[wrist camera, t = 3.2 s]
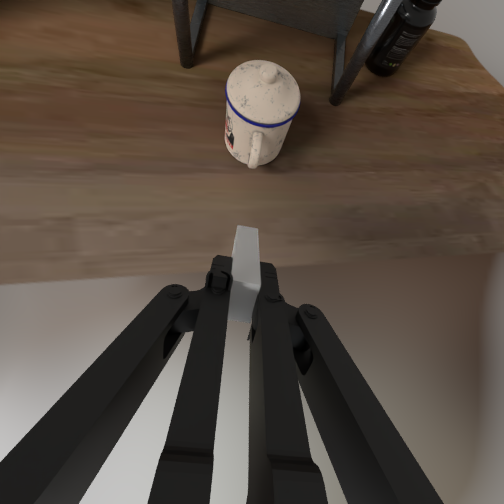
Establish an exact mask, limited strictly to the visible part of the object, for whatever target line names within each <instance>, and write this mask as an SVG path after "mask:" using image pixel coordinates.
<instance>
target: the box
mask: <svg viewBox="0 0 504 504" xmlns="http://www.w3.org/2000/svg"><path fill="white" fill-rule="evenodd" d="M363 1H364V0H197V3H196V6H195V10H194V13H193V17H192V20H191V24H190V20H189V9H188V0H172V6H173V13H174V20H175V28H176V35H177V42H178V49H179V56H180V63H181V66H182V67H184V68H191V67H192V66H193V58H194V54H195V50H196V47H197V43H198V39H199V35H200V32H201V28H202V24H203V20H204V17H205V13H206V9H207V6H208V4H212V5H215V6H219V7H222V8H226V9H230V10H233V11H237V12H240V13H244V14H247V15H251V16H254V17H258V18H261V19H265V20H268V21H272V22H275V23H279V24H283V25H286V26H290V27H293V28H297V29H300V30H304V31H307V32H311V33H314V34H318V35H321V36H325V37H328V38H332V39H335V47H334V61H333V74H332V88H331V96H330V98H329V101H330V103H331V104H332V105H334V106H338V105H339V104H340V103H341V101H342V99H343V98H344V96H345V94H346V93H347V91H348V89H349V88H350V86H351V84H352V83H353V81H354V80H355V78H356V76H357V75H358V73H359V71H360V70H361V68H362V66H363V65H364V63H365V61H366V60H367V58H368V56H369V55H370V53H371V51H372V50H373V48H374V46H375V45H376V43H377V41H378V40H379V38H380V36H381V35H382V33H383V31H384V30H385V28H386V26H387V25H388V23H389V21H390V20H391V18H392V16H393V15H394V13H395V11H396V10H397V8H398V6H399V5H400V3H401V2H402V0H382V2H381V4H380V5H379V7H378V9H377V11H376V13H375V15H374V17H373V18H372V20H371V22H370V24H369V26H368V28H367V30H366V31H365V33H364V35H363V37H362V39H361V41H360V43H359V44H358V46H357V48H356V50H355V52H354V54H353V56H352V57H351V59H350V61H349V63H348V65H347V67H346V69H345V70H344V72H343V69H344V52H345V39H346V37H347V35H348V32H349V30H350V28H351V26H352V24H353V22H354V20H355V18H356V16H357V14H358V12H359V10H360V7H361V5H362V3H363Z"/></svg>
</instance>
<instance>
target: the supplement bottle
mask: <svg viewBox="0 0 504 504" xmlns="http://www.w3.org/2000/svg"><path fill="white" fill-rule="evenodd" d="M441 1H442V0H402V2H401V3H400V5H399V6H398V8H397V10H396V11H395V13H394V15H393V16H392V18H391V20H390V21H389V23H388V25H387V26H386V28H385V30H384V31H383V33H382V35H381V36H380V38H379V40H378V41H377V43H376V45H375V46H374V48H373V50H372V51H371V53H370V55H369V56H368V58H367V60H366V61H365V65H366V66H367V68H368V69H369V70H370V71H371V72H372V73H374V74H376V75H378V76H382V77H387V76H390V75H392V74H394V73H395V72H396V71H397V70H398V69H399V67H400V66H401V65H402V63H403V62H404V61H405V59H406V58H407V57H408V55H409V54H410V53H411V51H412V50H413V49H414V48H415V46H416V45H417V44H418V42H419V41H420V40H421V38H422V37H423V36H424V34H425V33H426V32H427V30H428V29H429V28H430V26H431V25H432V23H433V22H434V20H435V17H436V12H437V9H436V6H438V5H439V4H440V2H441Z"/></svg>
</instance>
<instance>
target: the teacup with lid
mask: <svg viewBox="0 0 504 504" xmlns="http://www.w3.org/2000/svg"><path fill="white" fill-rule="evenodd" d="M225 93H226V98H227V108H226V126H225V143H226V146H227V148H228V150H229V152H230V153H231V154H232V155H233V156H234V157H235V158H236V159H237V160H239V161H240V162H242V163H245V164H248V167H249V168H252V169H255V168H257V166H258V165H264V164H267V163H269V162H271V161H272V160H273V159H275V158H276V156H277V155H278V153H279V152H280V149H281V147H282V144H283V142H284V139H285V137H286V134H287V132H288V129H289V127H290V124H291V122H292V119H293V118H294V117H295V115H296V114H297V112H298V110H299V107H300V91H299V87H298V85H297V82H296V81H295V79H294V78H293V76H292V75H291V74H290V73H289V72H288V71H287V70H285V69H284V68H283V67H281V66H279V65H277V64H275V63H272V62H269V61H263V60H253V61H248V62H245V63H243V64H241V65H239V66H238V67H237V68H235V69H234V70H233V72H232V73H231V74H230V76H229V78H228V80H227V83H226V89H225Z"/></svg>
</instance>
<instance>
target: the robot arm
mask: <svg viewBox="0 0 504 504" xmlns="http://www.w3.org/2000/svg"><path fill="white" fill-rule="evenodd" d="M251 318H252V325H251V328H250V332H249V335H248V339H247V340H249V339H250V371H249V373H250V374H249V378H250V380H249V472H248V496H247V502H246V504H328V501H327V497H326V491H325V485H324V481H323V477H322V474H321V471H320V469H319V467H318V466H317V465H316V464H315V463H314V462H313V460H312V458H311V454H310V448H309V442H308V436H307V430H306V424H305V418H304V413H303V407H302V401H301V395H300V390H299V383H300V386H301V388H302V391H303V393H304V396H305V398H306V401H307V403H308V406H309V408H310V410H311V413H312V415H313V418H314V421H315V423H316V426H317V428H318V431H319V433H320V435H321V438H322V441H323V443H324V445H325V448H326V451H327V453H328V456H329V458H330V460H331V463H332V465H333V468H334V470H335V473H336V475H337V478H338V480H339V483H340V485H341V488H342V490H343V493H344V495H345V498H346V500H347V502H348V504H444V503H443V502H442V500H441V499H440V497H439V496H438V494H437V492H436V491H435V489H434V488H433V486H432V484H431V483H430V481H429V480H428V478H427V477H426V475H425V474H424V472H423V470H422V469H421V467H420V466H419V464H418V462H417V461H416V459H415V458H414V456H413V455H412V453H411V451H410V450H409V448H408V447H407V445H406V443H405V442H404V441H403V439H402V437H401V436H400V434H399V432H398V431H397V430H396V428H395V426H394V425H393V423H392V421H391V420H390V418H389V417H388V415H387V414H386V412H385V410H384V409H383V407H382V406H381V404H380V403H379V401H378V400H377V398H376V396H375V395H374V394H373V392H372V390H371V388H370V387H369V385H368V384H367V382H366V380H365V379H364V377H363V376H362V374H361V373H360V371H359V369H358V368H357V366H356V365H355V363H354V362H353V360H352V359H351V357H350V355H349V354H348V352H347V351H346V349H345V348H344V346H343V344H342V343H341V341H340V340H339V338H338V336H337V335H336V333H335V332H334V330H333V329H332V327H331V325H330V324H329V322H328V321H327V319H326V317H325V316H324V314H323V313H322V312H321V311H320V309H318V308H317V307H315V306H313V305H310V304H303V305H301V306H300V307H299V308H296V307H294V306H291V305H289V304H287V303H286V302H285V300H284V298H283V296H282V295H281V294H280V293H279V286H278V280H277V273H276V268H275V267H274V266H273V264H271V263H265V262H260V258H259V240H258V229H257V228H251V227H246V226H241V225H238V226H237V231H236V236H235V242H234V247H233V252H232V257H227V256H221V255H217V256H216V257H215V258H213V262H212V265H211V269H210V271H209V272H208V273H207V276H206V283H205V287H204V288H202V289H201V290H197V291H188V289H187V288H186V287H184V286H182V285H178V284H172V285H168V286H166V287H164V288H163V289H162V290H161V291H160V292H159V293H158V294H157V295H156V296H155V297H154V298H153V299H152V300H151V301H150V303H149V304H148V305H147V306H146V307H145V308H144V309H143V310H142V311H141V312H140V313H139V314H138V315H137V316H136V318H135V319H134V320H133V321H132V322H131V323H130V324H129V325H128V326H127V327H126V328H125V329H124V330H123V331H122V332H121V334H120V335H119V336H118V337H117V338H116V339H115V340H114V341H113V342H112V343H111V344H110V345H109V346H108V347H107V349H106V350H105V351H104V352H103V353H102V354H101V355H100V356H99V357H98V358H97V359H96V360H95V361H94V363H93V364H92V365H91V366H90V367H89V368H88V369H87V370H86V371H85V372H84V373H83V374H82V375H81V376H80V378H79V379H78V380H77V381H76V382H75V383H74V384H73V385H72V386H71V387H70V388H69V389H68V390H67V391H66V393H65V394H64V395H63V396H62V397H61V398H60V399H59V400H58V401H57V402H56V403H55V404H54V405H53V406H52V407H51V409H50V410H49V411H48V412H47V413H46V414H45V415H44V416H43V417H42V418H41V419H40V420H39V421H38V423H37V424H36V425H35V426H34V427H33V428H32V429H31V430H30V431H29V432H28V433H27V434H26V435H25V436H24V437H23V438H22V440H21V441H20V442H19V443H18V444H17V445H16V446H15V447H14V448H13V449H12V450H11V451H10V452H9V453H8V455H7V456H6V457H5V458H4V459H3V460H2V461H1V462H0V504H79V502H80V501H81V499H82V497H83V496H84V494H85V493H86V491H87V489H88V488H89V486H90V485H91V483H92V481H93V480H94V478H95V477H96V475H97V473H98V472H99V470H100V468H101V467H102V465H103V464H104V462H105V461H106V459H107V457H108V456H109V454H110V453H111V451H112V449H113V448H114V446H115V445H116V443H117V442H118V440H119V438H120V437H121V435H122V434H123V432H124V430H125V429H126V427H127V426H128V424H129V422H130V421H131V419H132V418H133V416H134V414H135V413H136V411H137V409H138V408H139V406H140V405H141V403H142V402H143V400H144V398H145V397H146V395H147V394H148V392H149V390H150V389H151V387H152V386H153V384H154V382H155V381H156V379H157V378H158V376H159V374H160V373H161V371H162V369H163V368H164V366H165V365H166V363H167V362H168V360H169V358H170V357H171V355H172V354H173V352H174V350H175V349H176V347H177V346H178V344H179V342H180V341H181V339H182V338H183V336H184V334H185V332H190V331H194V332H193V337H192V340H191V344H190V349H189V352H188V356H187V360H186V364H185V368H184V372H183V376H182V379H181V383H180V387H179V391H178V395H177V399H176V403H175V407H174V411H173V415H172V419H171V423H170V426H169V431H168V434H167V439H166V442H165V446H164V449H163V451H162V453H161V456H160V459H159V462H158V466H157V469H156V473H155V477H154V481H153V484H152V488H151V492H150V496H149V500H148V504H209V503H210V493H211V483H212V473H213V461H214V455H213V450H214V440H215V431H216V421H217V412H218V402H219V393H220V385H221V384H220V383H221V375H222V366H223V357H224V347H225V339H226V329H227V320H232V321H240V322H246V323H250V322H251ZM298 381H299V383H298Z"/></svg>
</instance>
